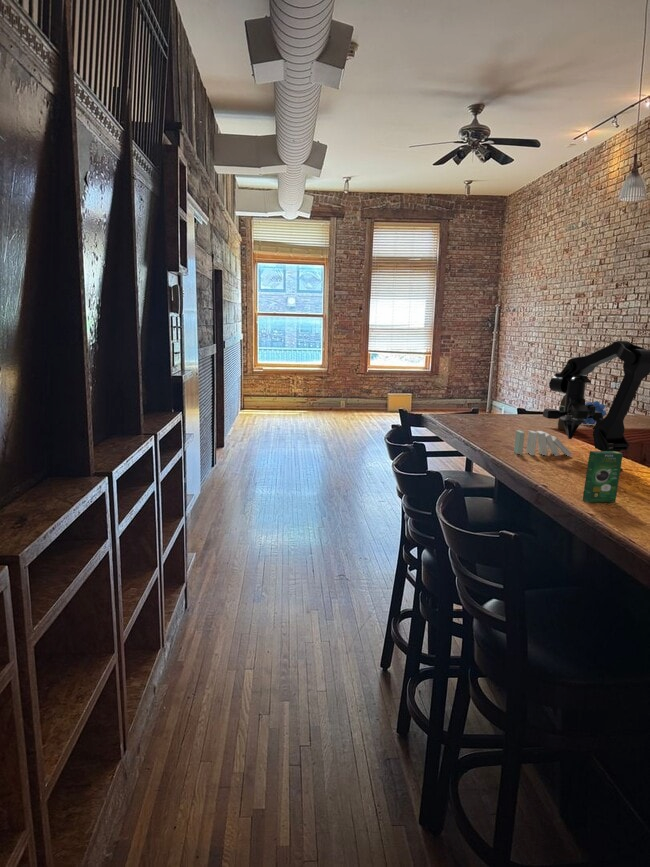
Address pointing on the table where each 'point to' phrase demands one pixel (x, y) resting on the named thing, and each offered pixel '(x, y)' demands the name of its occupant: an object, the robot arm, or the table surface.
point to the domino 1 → (519, 442)
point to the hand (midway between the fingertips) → (569, 438)
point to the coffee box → (602, 476)
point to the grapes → (597, 408)
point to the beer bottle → (560, 423)
